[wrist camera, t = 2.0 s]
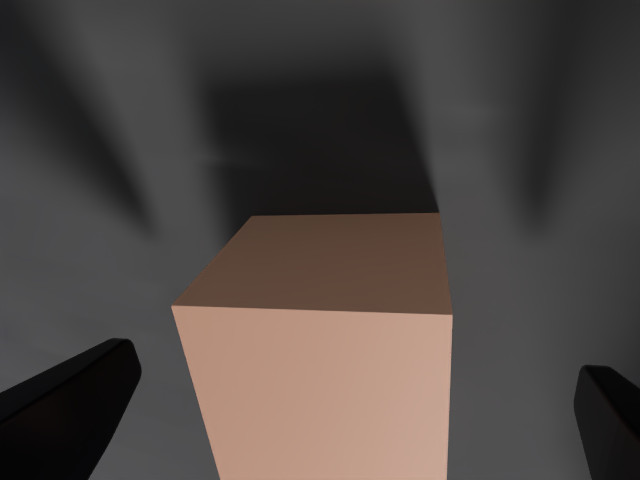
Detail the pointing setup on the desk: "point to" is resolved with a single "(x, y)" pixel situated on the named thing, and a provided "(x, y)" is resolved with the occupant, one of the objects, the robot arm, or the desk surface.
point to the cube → (324, 348)
